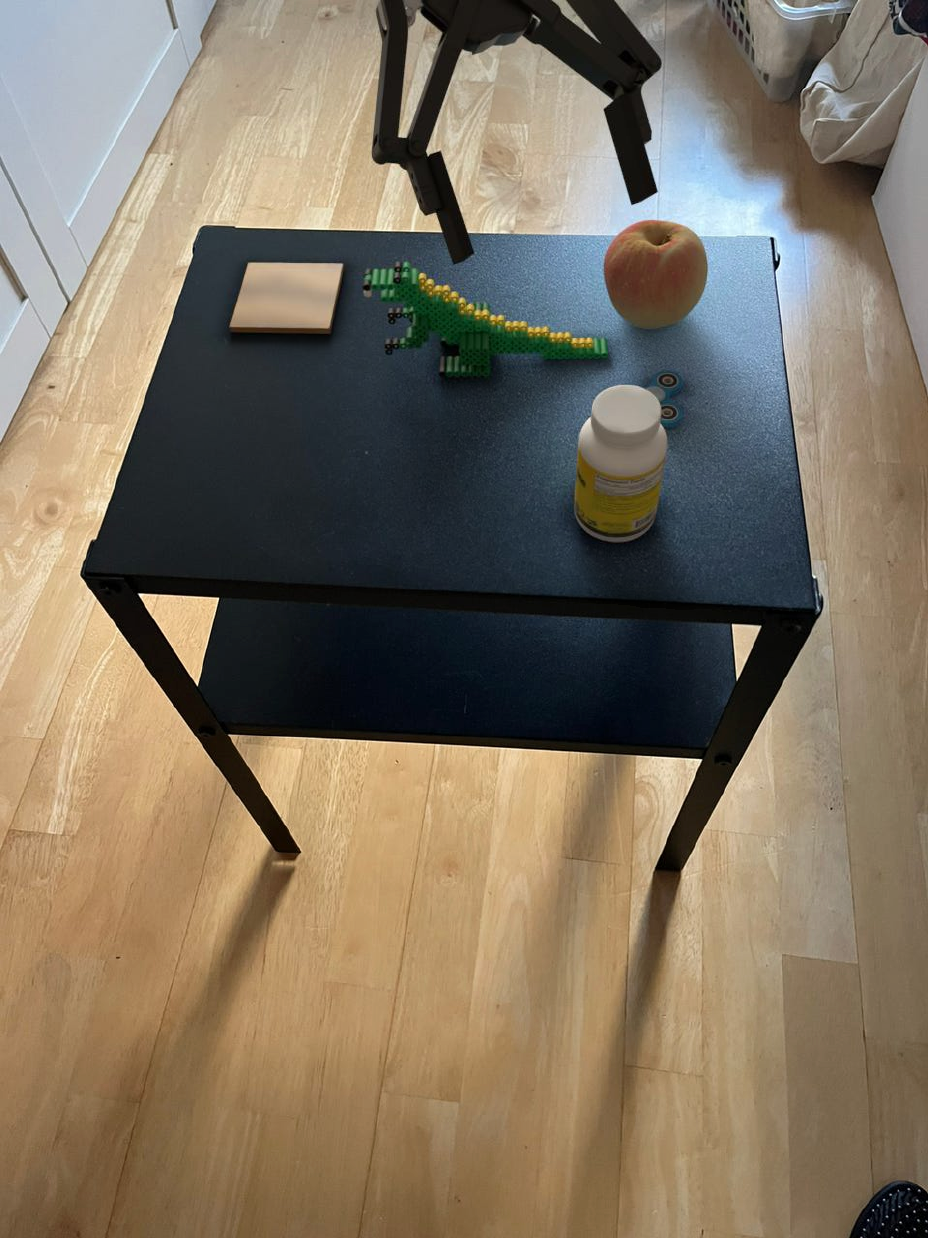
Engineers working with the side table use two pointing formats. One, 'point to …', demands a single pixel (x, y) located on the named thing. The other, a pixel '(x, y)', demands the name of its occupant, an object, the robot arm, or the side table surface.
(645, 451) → the pill bottle
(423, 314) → the green brick dinosaur
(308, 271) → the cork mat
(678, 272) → the apple
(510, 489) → the side table surface
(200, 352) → the side table surface
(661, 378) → the toy
